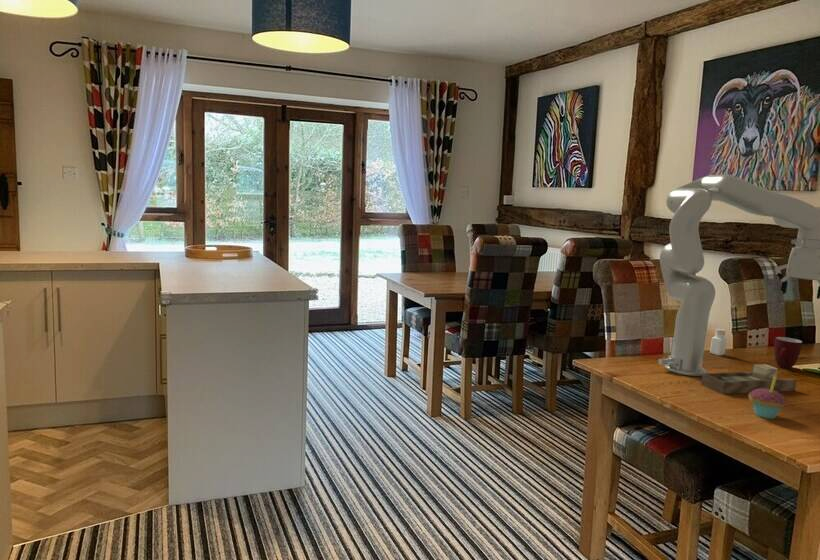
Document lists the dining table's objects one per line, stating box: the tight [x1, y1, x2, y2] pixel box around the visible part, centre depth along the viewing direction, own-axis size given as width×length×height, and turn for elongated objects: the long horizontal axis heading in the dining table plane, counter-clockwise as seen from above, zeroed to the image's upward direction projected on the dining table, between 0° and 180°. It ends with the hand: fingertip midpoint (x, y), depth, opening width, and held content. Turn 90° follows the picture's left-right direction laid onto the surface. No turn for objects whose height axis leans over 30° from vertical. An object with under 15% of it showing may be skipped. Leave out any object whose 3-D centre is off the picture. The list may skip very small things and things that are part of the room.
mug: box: [773, 336, 803, 370], centre depth 208 cm, size 10×8×10 cm
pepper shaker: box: [709, 328, 728, 357], centre depth 222 cm, size 4×4×10 cm
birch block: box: [752, 363, 779, 380], centre depth 184 cm, size 4×4×4 cm
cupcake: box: [747, 373, 786, 419], centre depth 158 cm, size 9×8×12 cm
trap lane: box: [700, 371, 797, 395], centre depth 183 cm, size 28×9×4 cm, turn 106°
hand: (800, 295), depth 198 cm, fingers open, 9 cm apart
